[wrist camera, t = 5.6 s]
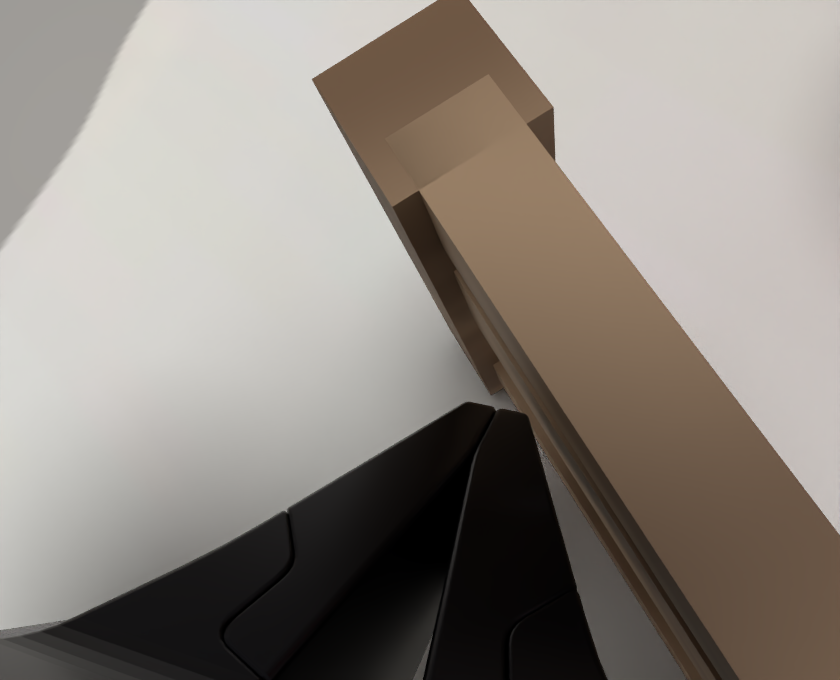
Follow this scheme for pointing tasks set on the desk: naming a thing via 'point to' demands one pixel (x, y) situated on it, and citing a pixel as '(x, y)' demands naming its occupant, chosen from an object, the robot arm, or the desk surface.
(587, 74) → the desk surface
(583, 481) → the walnut gate
